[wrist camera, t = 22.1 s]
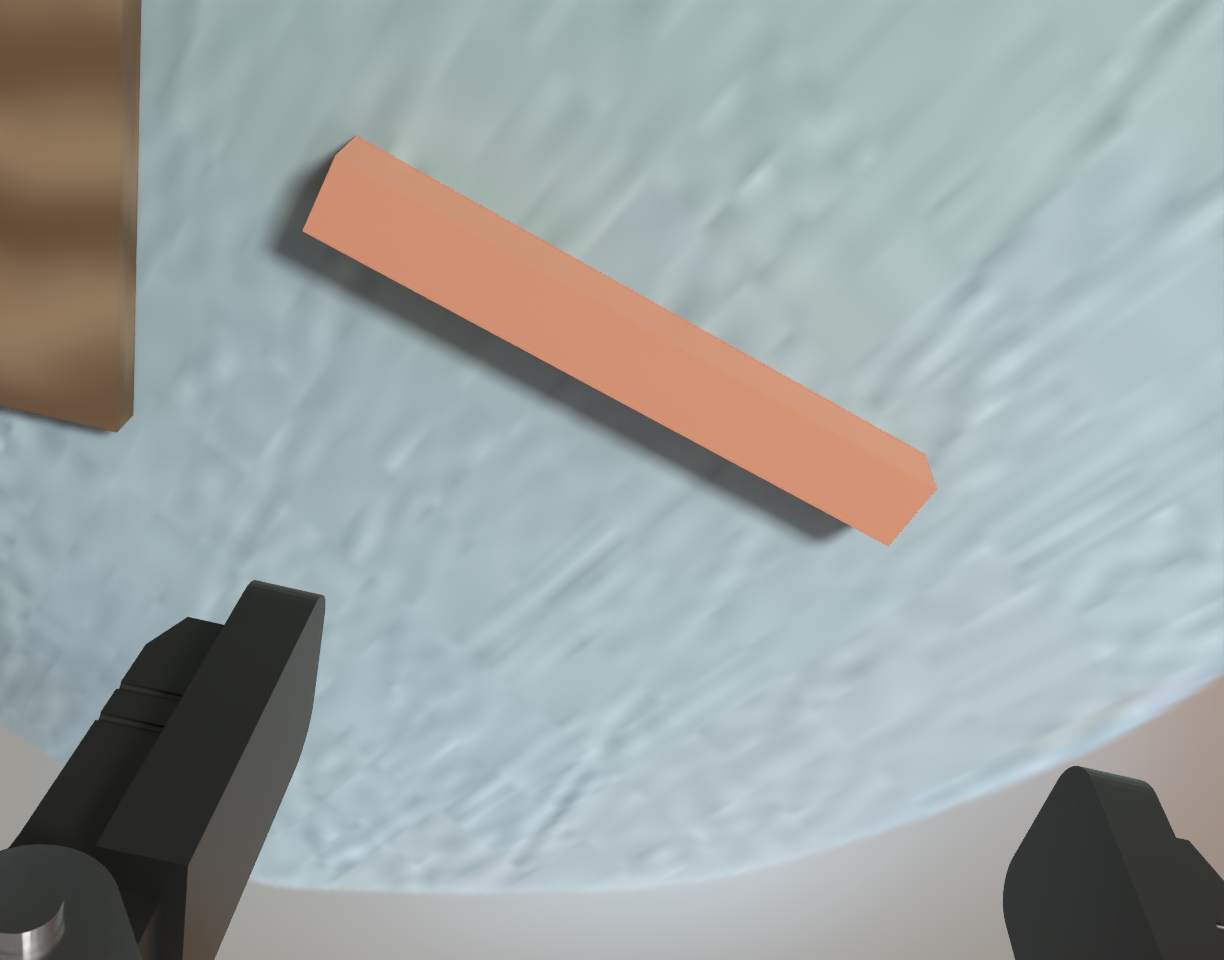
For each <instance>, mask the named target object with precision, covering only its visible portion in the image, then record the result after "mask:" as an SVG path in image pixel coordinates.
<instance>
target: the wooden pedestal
mask: <svg viewBox="0 0 1224 960" xmlns="http://www.w3.org/2000/svg"><path fill="white" fill-rule="evenodd" d="M140 37H141V0H0V406H4V407H9V408H13V409H17V410H22V411H26V412H30V413H35V414H39V415H44V416H48V417H52V418H57V419H61V420H65V421H70V422H74V423H79V424H83V425H87V426H92V427H96V428H100V429H105V430H109V431H114V432H118V431H119V430H120V429H121V428H122V426H123V425H124V424H125V423H126V422H127V421H128V420H129V419H130V418H131V417H132V416H133V397H134V345H135V294H136V243H137V191H138V140H139V88H140Z"/></svg>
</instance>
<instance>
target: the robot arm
mask: <svg viewBox="0 0 1224 960" xmlns="http://www.w3.org/2000/svg"><path fill="white" fill-rule="evenodd" d="M324 615H325V597H324V596H323V595H319V594H315V593H310V592H306V591H301V590H297V589H293V588H288V587H284V586H279V585H275V584H270V583H266V582H261V581H257V580H253V581H252V582H250V584H249V585H248V586H247V588H246V589H245V591H244V592H243V594H242V596H241V598H240V599H239V601H238V603H237V604H236V606H235V608H234V609H233V611H232V613H231V615H230V616H229V618H228V620H227V621H226V623H225V625H222V624H217V623H213V622H208V621H204V620H199V619H195V618H190V617H187V618H185V619H184V620H182V621H181V622H179V623H178V624H176V625H175V626H173V627H172V628H170V629H169V630H167V631H166V632H164V633H163V634H161V635H160V636H158V637H157V638H155V639H153V640H152V641H150V642H149V643H147V644H146V645H145V647H144V648H143V650H142V651H141V653H140V654H139V656H138V657H137V659H136V660H135V662H134V663H133V665H132V666H131V668H130V669H129V671H128V672H127V674H126V675H125V677H124V678H123V680H122V681H121V685H120V688H119V689H116V690H115V692H114V693H113V695H112V696H111V698H110V699H109V701H108V702H107V704H106V705H105V707H104V708H103V710H102V711H101V714H100V718H99V720H95V722H94V723H93V725H92V726H91V728H90V729H89V731H88V732H87V734H86V735H85V737H84V738H83V740H82V741H81V743H80V744H79V746H78V747H77V749H76V750H75V752H74V753H73V755H72V756H71V758H70V759H69V761H68V762H67V764H66V765H65V766H64V768H63V769H62V771H61V772H60V774H59V776H58V777H57V779H56V780H55V781H54V783H53V784H52V786H51V787H50V789H49V790H48V792H47V794H46V795H45V797H44V798H43V799H42V801H41V802H40V804H39V806H38V807H37V809H36V810H35V812H34V813H33V815H32V816H31V817H30V819H29V821H28V822H27V823H26V825H25V826H24V828H23V829H22V831H21V833H20V834H19V835H18V837H17V838H16V839H15V840H14V842H13V843H12V844H11V846H10V847H9V848H8V849H4V850H2V851H0V960H214V959H215V956H216V954H217V952H218V949H219V947H220V944H221V942H222V940H223V938H224V935H225V933H226V931H227V928H228V926H229V923H230V921H231V919H232V916H233V914H234V912H235V909H236V907H237V905H238V902H239V900H240V897H241V895H242V893H243V890H244V888H245V886H246V884H247V881H248V879H249V876H250V874H251V872H252V869H253V867H254V865H255V862H256V860H257V858H258V855H259V853H260V851H261V848H262V846H263V844H264V841H265V839H266V836H267V834H268V832H269V829H270V827H271V825H272V822H273V820H274V818H275V815H276V813H277V811H278V808H279V806H280V804H281V801H282V799H283V796H284V794H285V792H286V789H287V787H288V785H289V782H290V780H291V778H292V775H293V773H294V771H295V768H296V766H297V763H298V761H299V758H300V755H301V752H302V749H303V746H304V742H305V739H306V735H307V732H308V728H309V723H310V719H311V714H312V709H313V702H314V694H315V686H316V678H317V670H318V662H319V654H320V646H321V639H322V631H323V623H324ZM1003 911H1004V918H1005V923H1006V927H1007V930H1008V934H1009V938H1010V941H1011V945H1012V949H1013V952H1014V957H1015V960H1224V881H1223V879H1222V878H1221V877H1220V876H1219V875H1218V874H1217V872H1216V871H1215V870H1214V869H1213V868H1212V867H1211V866H1210V864H1209V863H1208V862H1207V861H1206V860H1205V859H1204V857H1202V855H1201V854H1200V853H1199V852H1198V851H1197V850H1196V848H1195V847H1194V846H1193V845H1192V844H1191V843H1190V841H1188V840H1184V839H1179V838H1176V837H1175V834H1174V832H1173V830H1172V828H1171V826H1170V823H1169V821H1168V819H1167V817H1166V815H1165V812H1164V810H1163V808H1162V806H1161V804H1160V802H1159V799H1158V797H1157V795H1156V793H1155V791H1154V790H1153V788H1152V787H1151V786H1150V785H1149V784H1148V783H1146V782H1144V781H1142V780H1138V779H1133V778H1129V777H1125V776H1120V775H1115V774H1111V773H1107V772H1102V771H1098V770H1093V769H1089V768H1084V767H1080V766H1073V767H1070V768H1068V769H1067V770H1066V771H1065V772H1064V773H1063V774H1062V775H1061V776H1060V778H1059V779H1058V781H1057V783H1056V784H1055V786H1054V788H1053V789H1052V791H1051V793H1050V795H1049V796H1048V798H1047V800H1046V801H1045V803H1044V805H1043V807H1042V808H1041V810H1040V812H1039V814H1038V815H1037V817H1036V819H1035V820H1034V823H1033V824H1032V826H1031V827H1030V829H1029V831H1028V833H1027V834H1026V836H1025V838H1024V839H1023V841H1022V843H1021V845H1020V846H1019V848H1018V850H1017V852H1016V853H1015V855H1014V857H1013V859H1012V861H1011V863H1010V865H1009V868H1008V871H1007V874H1006V879H1005V884H1004V891H1003Z"/></svg>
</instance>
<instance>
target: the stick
mask: <svg viewBox="0 0 1224 960" xmlns="http://www.w3.org/2000/svg"><path fill="white" fill-rule="evenodd" d="M303 232H305V233H307V234H308V235H310V236H312V237H314V238H316V239H318V240H320V241H321V242H323V243H325V244H327V245H329V246H331V247H333V248H334V249H336V250H338V251H340V252H342V253H344V254H346V255H348V256H349V257H351V258H353V259H355V260H357V261H359V262H361V263H362V264H364V265H366V266H368V267H370V268H372V269H374V270H375V271H377V272H379V273H381V274H383V275H385V276H387V277H388V278H390V279H392V280H394V281H396V282H398V283H400V284H401V285H403V286H405V287H407V288H409V289H411V290H413V291H414V292H416V293H418V294H420V295H422V296H424V297H426V298H427V299H429V300H431V301H433V302H435V303H437V304H439V305H440V306H442V307H444V308H446V309H448V310H450V311H452V312H454V313H455V314H457V315H459V316H461V317H463V318H465V319H467V320H468V321H470V322H472V323H474V324H476V325H478V326H480V327H481V328H483V329H485V330H487V331H489V332H491V333H493V334H494V335H496V336H498V337H500V338H502V339H504V340H506V341H507V342H509V343H511V344H513V345H515V346H517V347H519V348H520V349H522V350H524V351H526V352H528V353H530V354H532V355H533V356H535V357H537V358H539V359H541V360H543V361H545V362H546V363H548V364H550V365H552V366H554V367H556V368H558V369H560V370H561V371H563V372H565V373H567V374H569V375H571V376H573V377H574V378H576V379H578V380H580V381H582V382H584V383H586V384H587V385H589V386H591V387H593V388H595V389H597V390H599V391H600V392H602V393H604V394H606V395H608V396H610V397H612V398H613V399H615V400H617V401H619V402H621V403H623V404H625V405H626V406H628V407H630V408H632V409H634V410H636V411H638V412H639V413H641V414H643V415H645V416H647V417H649V418H651V419H652V420H654V421H656V422H658V423H660V424H662V425H664V426H666V427H667V428H669V429H671V430H673V431H675V432H677V433H679V434H680V435H682V436H684V437H686V438H688V439H690V440H692V441H693V442H695V443H697V444H699V445H701V446H703V447H705V448H706V449H708V450H710V451H712V452H714V453H716V454H718V455H719V456H721V457H723V458H725V459H727V460H729V461H731V462H732V463H734V464H736V465H738V466H740V467H742V468H744V469H745V470H747V471H749V472H751V473H753V474H755V475H757V476H758V477H760V478H762V479H764V480H766V481H768V482H770V483H772V484H773V485H775V486H777V487H779V488H781V489H783V490H785V491H786V492H788V493H790V494H792V495H794V496H796V497H798V498H799V499H801V500H803V501H805V502H807V503H809V504H811V505H812V506H814V507H816V508H818V509H820V510H822V511H824V512H825V513H827V514H829V515H831V516H833V517H835V518H837V519H838V520H840V521H842V522H844V523H846V524H848V525H850V526H851V527H853V528H855V529H857V530H859V531H861V532H863V533H864V534H866V535H868V536H870V537H872V538H874V539H876V540H878V541H879V542H881V543H883V544H885V545H887V546H889V545H890V544H891V543H892V542H893V540H894V539H895V538H896V537H897V536H898V534H899V533H900V532H901V531H902V530H903V529H904V527H905V526H906V525H907V524H908V523H909V521H910V520H911V519H912V518H913V517H914V515H915V514H916V513H917V512H918V511H919V509H920V508H921V507H922V506H923V505H924V504H925V502H926V501H927V500H928V499H929V498H930V496H931V495H932V494H933V493H934V492H935V490H936V489H937V488H936V485H935V482H934V479H933V476H932V473H931V470H930V467H929V464H928V461H927V458H926V455H925V454H924V453H922V452H920V451H918V450H917V449H915V448H913V447H911V446H910V445H908V444H906V443H904V442H902V441H901V440H899V439H897V438H895V437H893V436H892V435H890V434H888V433H886V432H885V431H883V430H881V429H879V428H877V427H876V426H874V425H872V424H870V423H868V422H867V421H865V420H863V419H861V418H860V417H858V416H856V415H854V414H852V413H851V412H849V411H847V410H845V409H844V408H842V407H840V406H838V405H836V404H835V403H833V402H831V401H829V400H827V399H826V398H824V397H822V396H820V395H819V394H817V393H815V392H813V391H811V390H810V389H808V388H806V387H804V386H802V385H801V384H799V383H797V382H795V381H794V380H792V379H790V378H788V377H786V376H785V375H783V374H781V373H779V372H778V371H776V370H774V369H772V368H770V367H769V366H767V365H765V364H763V363H761V362H760V361H758V360H756V359H754V358H753V357H751V356H749V355H747V354H745V353H744V352H742V351H740V350H738V349H736V348H735V347H733V346H731V345H729V344H728V343H726V342H724V341H722V340H720V339H719V338H717V337H715V336H713V335H711V334H710V333H708V332H706V331H704V330H703V329H701V328H699V327H697V326H695V325H694V324H692V323H690V322H688V321H687V320H685V319H683V318H681V317H679V316H678V315H676V314H674V313H672V312H670V311H669V310H667V309H665V308H663V307H662V306H660V305H658V304H656V303H654V302H653V301H651V300H649V299H647V298H645V297H644V296H642V295H640V294H638V293H637V292H635V291H633V290H631V289H629V288H628V287H626V286H624V285H622V284H621V283H619V282H617V281H615V280H613V279H612V278H610V277H608V276H606V275H604V274H603V273H601V272H599V271H597V270H596V269H594V268H592V267H590V266H588V265H587V264H585V263H583V262H581V261H579V260H578V259H576V258H574V257H572V256H571V255H569V254H567V253H565V252H563V251H562V250H560V249H558V248H556V247H554V246H553V245H551V244H549V243H547V242H546V241H544V240H542V239H540V238H538V237H537V236H535V235H533V234H531V233H530V232H528V231H526V230H524V229H522V228H521V227H519V226H517V225H515V224H513V223H512V222H510V221H508V220H506V219H505V218H503V217H501V216H499V215H497V214H496V213H494V212H492V211H490V210H488V209H487V208H485V207H483V206H481V205H480V204H478V203H476V202H474V201H472V200H471V199H469V198H467V197H465V196H464V195H462V194H460V193H458V192H456V191H455V190H453V189H451V188H449V187H447V186H446V185H444V184H442V183H440V182H439V181H437V180H435V179H433V178H431V177H430V176H428V175H426V174H424V173H422V172H421V171H419V170H417V169H415V168H414V167H412V166H410V165H408V164H406V163H405V162H403V161H401V160H399V159H398V158H396V157H394V156H392V155H390V154H389V153H387V152H385V151H383V150H381V149H380V148H378V147H376V146H374V145H373V144H371V143H369V142H367V141H365V140H364V139H362V138H360V137H358V136H355V137H354V138H353V139H352V140H351V141H350V142H349V143H348V144H347V145H346V146H345V147H344V148H343V149H341V150H340V151H339V152H338V153H337V154H336V155H335V157H334V160H333V162H332V164H331V167H330V169H329V171H328V173H327V176H326V178H325V180H324V183H323V185H322V187H321V189H320V192H319V194H318V196H317V199H316V201H315V203H314V205H313V208H312V210H311V212H310V215H309V217H308V219H307V221H306V224H305V226H304V228H303Z"/></svg>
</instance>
